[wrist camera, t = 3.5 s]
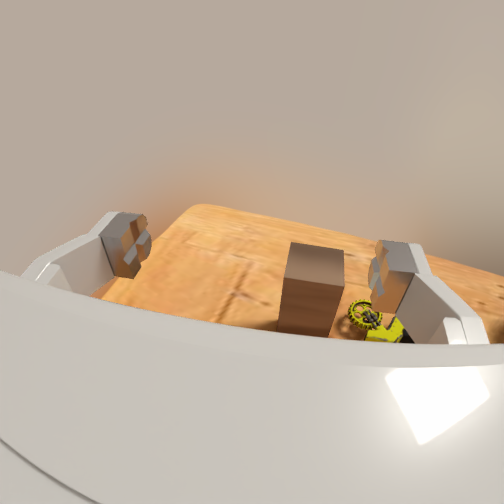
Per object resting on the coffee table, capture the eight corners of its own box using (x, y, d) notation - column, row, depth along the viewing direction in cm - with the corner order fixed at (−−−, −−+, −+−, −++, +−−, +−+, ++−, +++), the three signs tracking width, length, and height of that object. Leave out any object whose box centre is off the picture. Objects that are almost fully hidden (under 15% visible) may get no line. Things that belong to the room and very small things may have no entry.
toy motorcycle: (446, 295, 29) (462, 345, 23) (433, 317, 31) (445, 365, 26) (351, 287, 30) (356, 342, 24) (343, 311, 32) (345, 364, 27)
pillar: (319, 360, 27) (344, 286, 21) (273, 353, 28) (283, 277, 22) (322, 325, 31) (343, 250, 24) (280, 319, 31) (291, 242, 25)
